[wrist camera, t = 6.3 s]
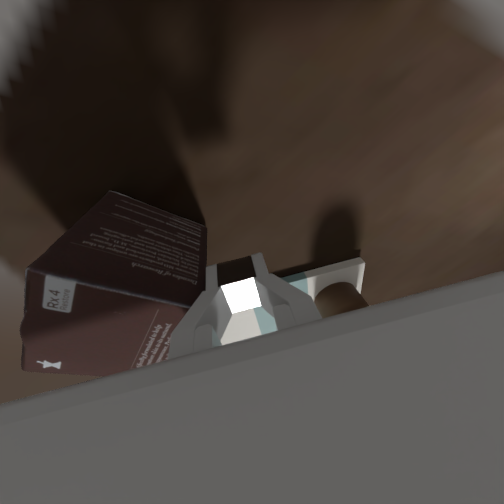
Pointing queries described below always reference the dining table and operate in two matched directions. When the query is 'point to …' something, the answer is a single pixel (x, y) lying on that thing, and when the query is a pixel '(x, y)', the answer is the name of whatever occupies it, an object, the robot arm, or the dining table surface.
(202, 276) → the box
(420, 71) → the dining table surface
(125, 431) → the robot arm
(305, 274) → the board
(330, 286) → the brown rounded cylinder
